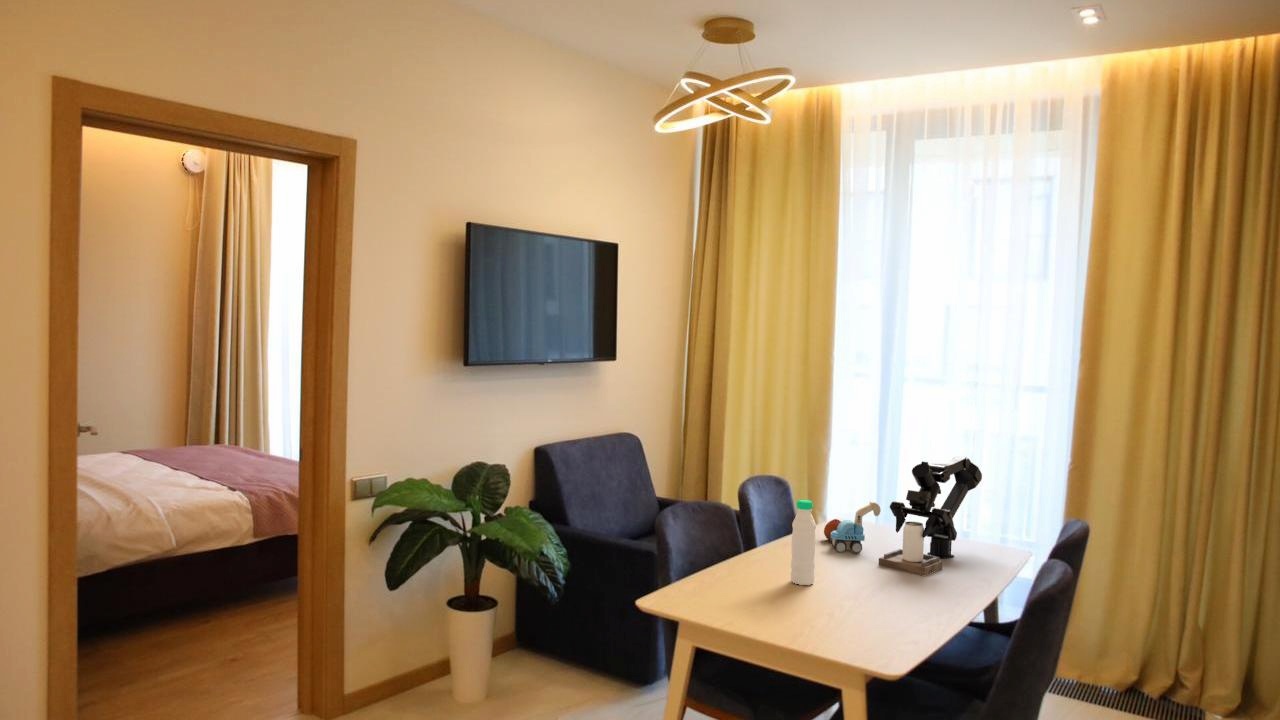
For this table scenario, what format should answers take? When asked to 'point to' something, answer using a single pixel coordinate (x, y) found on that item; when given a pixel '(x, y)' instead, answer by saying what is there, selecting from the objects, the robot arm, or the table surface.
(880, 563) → the dock
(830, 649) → the table surface
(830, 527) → the fruit
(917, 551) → the can
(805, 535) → the water bottle
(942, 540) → the robot arm
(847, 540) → the toy excavator
